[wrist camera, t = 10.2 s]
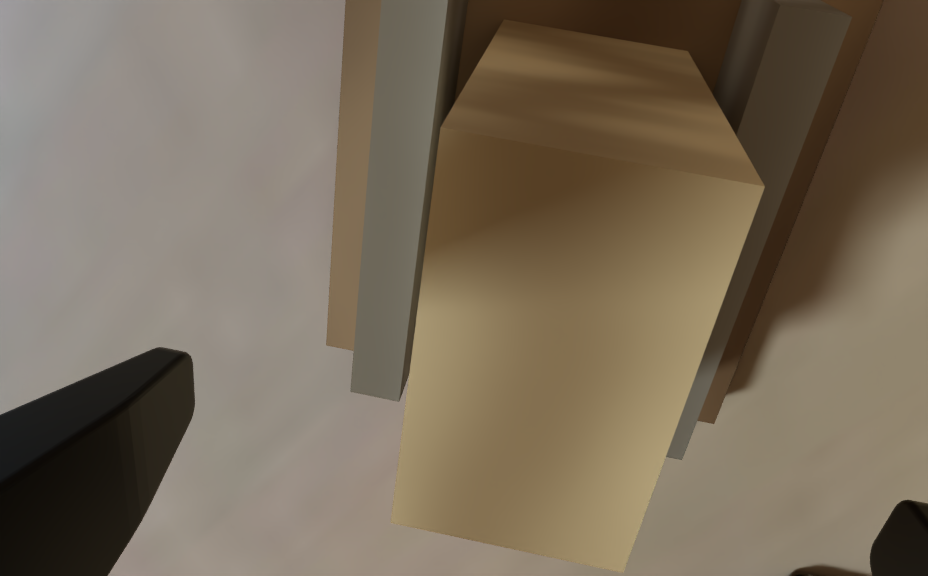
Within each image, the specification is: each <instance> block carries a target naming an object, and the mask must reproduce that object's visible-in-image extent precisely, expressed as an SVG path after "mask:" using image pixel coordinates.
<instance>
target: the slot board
mask: <svg viewBox="0 0 928 576" xmlns="http://www.w3.org/2000/svg"><path fill="white" fill-rule="evenodd" d="M883 1H884V0H346V4H345V21H344V39H343V57H342V75H341V92H340V110H339V128H338V145H337V163H336V181H335V199H334V216H333V234H332V252H331V270H330V287H329V305H328V323H327V340H326V345H327V346H332V347H337V348H342V349H347V350H352V351H354V353H353V366H352V379H351V391H350V392H354V393H359V394H364V395H369V396H374V397H379V398H383V399H388V400H393V401H398V402H399V401H400V398H401V395H402V392H403V389H404V387H405V384H406V381H407V378H408V376H409V373H410V365H411V357H412V349H413V341H414V333H415V325H416V317H417V310H418V302H419V294H420V286H421V278H422V270H423V262H424V254H425V246H426V238H427V230H428V222H429V215H430V207H431V199H432V191H433V183H434V175H435V167H436V159H437V151H438V143H439V135H440V127H441V126H442V124H443V122H444V121H445V119H446V117H447V115H448V114H449V112H450V110H451V109H452V107H453V105H454V104H455V102H456V100H457V98H458V97H459V95H460V93H461V92H462V90H463V88H464V87H465V85H466V83H467V81H468V80H469V78H470V76H471V75H472V73H473V71H474V70H475V68H476V66H477V65H478V63H479V61H480V59H481V58H482V56H483V54H484V53H485V51H486V49H487V48H488V46H489V44H490V42H491V41H492V39H493V37H494V36H495V34H496V32H497V31H498V29H499V27H500V25H501V24H502V22H503V20H504V19H505V20H510V21H516V22H522V23H528V24H534V25H539V26H545V27H551V28H557V29H562V30H568V31H574V32H580V33H586V34H591V35H597V36H603V37H609V38H614V39H620V40H626V41H632V42H638V43H643V44H649V45H655V46H661V47H666V48H672V49H678V50H684V51H688V52H689V54H690V56H691V57H692V59H693V61H694V63H695V64H696V66H697V68H698V70H699V71H700V73H701V75H702V77H703V78H704V80H705V82H706V84H707V86H708V87H709V89H710V91H711V93H712V94H713V96H714V98H715V100H716V101H717V103H718V105H719V107H720V108H721V110H722V112H723V114H724V115H725V117H726V119H727V121H728V122H729V124H730V126H731V128H732V129H733V131H734V133H735V135H736V136H737V138H738V140H739V142H740V143H741V145H742V147H743V149H744V151H745V152H746V154H747V156H748V158H749V159H750V161H751V163H752V165H753V166H754V168H755V170H756V172H757V173H758V175H759V177H760V179H761V180H762V182H763V184H764V186H765V188H764V191H763V193H762V196H761V199H760V202H759V204H758V207H757V210H756V213H755V215H754V218H753V221H752V223H751V226H750V229H749V232H748V234H747V237H746V240H745V242H744V245H743V248H742V251H741V253H740V256H739V259H738V262H737V264H736V267H735V270H734V272H733V275H732V278H731V281H730V283H729V286H728V289H727V291H726V294H725V297H724V300H723V302H722V305H721V308H720V311H719V313H718V316H717V319H716V321H715V324H714V327H713V330H712V332H711V335H710V338H709V340H708V343H707V346H706V349H705V351H704V354H703V357H702V360H701V362H700V365H699V368H698V370H697V373H696V376H695V379H694V381H693V384H692V387H691V389H690V392H689V395H688V398H687V400H686V403H685V406H684V409H683V411H682V414H681V417H680V419H679V422H678V425H677V428H676V430H675V433H674V436H673V438H672V441H671V444H670V447H669V449H668V452H667V455H666V457H670V458H675V459H679V460H682V459H683V456H684V453H685V451H686V448H687V446H688V443H689V440H690V438H691V435H692V433H693V430H694V427H695V425H696V422H697V421H702V422H707V423H712V424H714V423H715V420H716V418H717V415H718V413H719V410H720V408H721V405H722V403H723V400H724V398H725V395H726V393H727V390H728V388H729V385H730V383H731V380H732V378H733V375H734V373H735V370H736V368H737V365H738V363H739V360H740V358H741V355H742V353H743V350H744V348H745V345H746V343H747V340H748V338H749V335H750V333H751V330H752V328H753V325H754V323H755V320H756V318H757V315H758V313H759V310H760V308H761V305H762V303H763V300H764V298H765V295H766V293H767V290H768V288H769V285H770V283H771V280H772V278H773V275H774V273H775V271H776V268H777V266H778V263H779V261H780V258H781V256H782V253H783V251H784V248H785V246H786V243H787V241H788V238H789V236H790V233H791V231H792V228H793V226H794V223H795V221H796V218H797V216H798V213H799V211H800V208H801V206H802V203H803V201H804V198H805V196H806V193H807V191H808V188H809V186H810V183H811V181H812V178H813V176H814V173H815V171H816V168H817V166H818V163H819V161H820V158H821V156H822V153H823V151H824V148H825V146H826V143H827V141H828V138H829V136H830V133H831V131H832V128H833V126H834V123H835V121H836V118H837V116H838V113H839V111H840V108H841V106H842V103H843V101H844V98H845V96H846V93H847V91H848V88H849V86H850V83H851V81H852V78H853V76H854V73H855V71H856V68H857V66H858V63H859V61H860V58H861V56H862V53H863V51H864V48H865V46H866V43H867V41H868V38H869V36H870V33H871V31H872V28H873V26H874V23H875V21H876V18H877V16H878V13H879V11H880V8H881V6H882V3H883Z"/></svg>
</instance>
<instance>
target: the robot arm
mask: <svg viewBox="0 0 928 576" xmlns="http://www.w3.org/2000/svg"><path fill="white" fill-rule="evenodd" d="M194 407H195V394H194V376H193V362H192V358H191V356H190V355H189V354H188V353H186V352H183V351H178V350H173V349H168V348H163V347H158V348H155V349H152V350H150V351H147V352H145V353H143V354H140V355H138V356H136V357H133V358H131V359H129V360H126V361H124V362H122V363H119V364H117V365H115V366H112V367H110V368H108V369H105V370H103V371H101V372H98V373H96V374H94V375H92V376H89V377H87V378H85V379H82V380H80V381H78V382H75V383H73V384H71V385H68V386H66V387H64V388H61V389H59V390H57V391H54V392H52V393H50V394H47V395H45V396H43V397H41V398H38V399H36V400H34V401H31V402H29V403H27V404H24V405H22V406H20V407H17V408H15V409H13V410H10V411H8V412H6V413H3V414H1V415H0V576H108V574H109V573H110V571H111V570H112V568H113V566H114V565H115V563H116V562H117V560H118V559H119V557H120V555H121V554H122V552H123V551H124V549H125V547H126V546H127V544H128V543H129V541H130V540H131V538H132V536H133V535H134V533H135V531H136V530H137V528H138V526H139V525H140V523H141V521H142V519H143V517H144V515H145V514H146V512H147V510H148V508H149V506H150V504H151V502H152V500H153V498H154V496H155V494H156V492H157V489H158V487H159V485H160V483H161V481H162V479H163V477H164V475H165V473H166V471H167V469H168V467H169V465H170V463H171V461H172V459H173V457H174V454H175V452H176V450H177V448H178V446H179V444H180V442H181V440H182V438H183V436H184V434H185V432H186V430H187V428H188V426H189V424H190V421H191V419H192V416H193V412H194ZM870 566H871V572H872V576H928V504H927V503H922V502H917V501H912V500H904V501H901V502H900V503H898V504H897V505H896V507H895V508H894V510H893V511H892V513H891V515H890V516H889V518H888V520H887V521H886V523H885V525H884V526H883V528H882V529H881V531H880V533H879V534H878V536H877V538H876V539H875V541H874V543H873V545H872V548H871V553H870ZM797 576H799V575H797Z"/></svg>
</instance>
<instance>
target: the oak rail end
mask: <svg viewBox="0 0 928 576" xmlns="http://www.w3.org/2000/svg"><path fill="white" fill-rule="evenodd" d="M764 188H765V186H764V184H763V182H762V180H761V179H760V177H759V175H758V173H757V172H756V170H755V168H754V166H753V165H752V163H751V161H750V159H749V158H748V156H747V154H746V152H745V151H744V149H743V147H742V145H741V143H740V142H739V140H738V138H737V136H736V135H735V133H734V131H733V129H732V128H731V126H730V124H729V122H728V121H727V119H726V117H725V115H724V114H723V112H722V110H721V108H720V107H719V105H718V103H717V101H716V100H715V98H714V96H713V94H712V93H711V91H710V89H709V87H708V86H707V84H706V82H705V80H704V78H703V77H702V75H701V73H700V71H699V70H698V68H697V66H696V64H695V63H694V61H693V59H692V57H691V56H690V54H689V52H688V51H684V50H678V49H672V48H666V47H661V46H655V45H649V44H643V43H638V42H632V41H626V40H620V39H614V38H609V37H603V36H597V35H591V34H586V33H580V32H574V31H568V30H562V29H557V28H551V27H545V26H539V25H534V24H528V23H522V22H516V21H510V20H505V19H504V20H503V22H502V24H501V25H500V27H499V29H498V31H497V32H496V34H495V36H494V37H493V39H492V41H491V42H490V44H489V46H488V48H487V49H486V51H485V53H484V54H483V56H482V58H481V59H480V61H479V63H478V65H477V66H476V68H475V70H474V71H473V73H472V75H471V76H470V78H469V80H468V81H467V83H466V85H465V87H464V88H463V90H462V92H461V93H460V95H459V97H458V98H457V100H456V102H455V104H454V105H453V107H452V109H451V110H450V112H449V114H448V115H447V117H446V119H445V121H444V122H443V124H442V126H441V127H440V135H439V143H438V151H437V159H436V167H435V175H434V183H433V191H432V199H431V207H430V215H429V222H428V230H427V238H426V246H425V254H424V262H423V270H422V278H421V286H420V294H419V302H418V310H417V317H416V325H415V333H414V341H413V349H412V357H411V365H410V373H409V381H408V389H407V397H406V405H405V412H404V420H403V428H402V436H401V444H400V452H399V460H398V468H397V476H396V484H395V492H394V500H393V507H392V515H391V523H394V524H399V525H403V526H408V527H413V528H417V529H422V530H427V531H431V532H436V533H440V534H445V535H450V536H454V537H459V538H464V539H468V540H473V541H478V542H482V543H487V544H492V545H496V546H501V547H506V548H510V549H515V550H519V551H524V552H529V553H533V554H538V555H543V556H547V557H552V558H557V559H561V560H566V561H571V562H575V563H580V564H585V565H589V566H594V567H599V568H603V569H608V570H612V571H617V572H622V573H623V572H624V569H625V566H626V564H627V561H628V558H629V556H630V553H631V550H632V547H633V545H634V542H635V539H636V537H637V534H638V531H639V528H640V526H641V523H642V520H643V517H644V515H645V512H646V509H647V507H648V504H649V501H650V498H651V496H652V493H653V490H654V487H655V485H656V482H657V479H658V477H659V474H660V471H661V468H662V466H663V463H664V460H665V458H666V455H667V452H668V449H669V447H670V444H671V441H672V438H673V436H674V433H675V430H676V428H677V425H678V422H679V419H680V417H681V414H682V411H683V409H684V406H685V403H686V400H687V398H688V395H689V392H690V389H691V387H692V384H693V381H694V379H695V376H696V373H697V370H698V368H699V365H700V362H701V360H702V357H703V354H704V351H705V349H706V346H707V343H708V340H709V338H710V335H711V332H712V330H713V327H714V324H715V321H716V319H717V316H718V313H719V311H720V308H721V305H722V302H723V300H724V297H725V294H726V291H727V289H728V286H729V283H730V281H731V278H732V275H733V272H734V270H735V267H736V264H737V262H738V259H739V256H740V253H741V251H742V248H743V245H744V242H745V240H746V237H747V234H748V232H749V229H750V226H751V223H752V221H753V218H754V215H755V213H756V210H757V207H758V204H759V202H760V199H761V196H762V193H763V191H764Z"/></svg>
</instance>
